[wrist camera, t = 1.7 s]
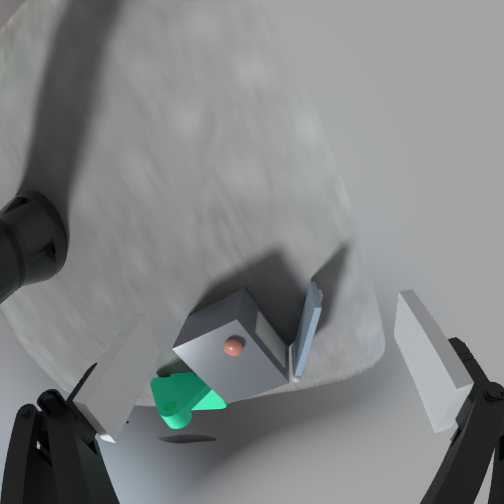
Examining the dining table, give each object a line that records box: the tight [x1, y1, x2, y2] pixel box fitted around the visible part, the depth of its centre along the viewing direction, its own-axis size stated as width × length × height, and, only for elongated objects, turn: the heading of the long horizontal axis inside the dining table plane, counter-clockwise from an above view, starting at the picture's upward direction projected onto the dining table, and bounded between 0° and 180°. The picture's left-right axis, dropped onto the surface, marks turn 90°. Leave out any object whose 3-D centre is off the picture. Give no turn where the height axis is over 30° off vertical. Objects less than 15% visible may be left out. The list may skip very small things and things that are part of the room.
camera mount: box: [150, 372, 227, 429], centre depth 43 cm, size 12×8×10 cm, turn 106°
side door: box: [291, 281, 323, 383], centre depth 37 cm, size 1×12×7 cm, turn 173°
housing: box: [172, 287, 289, 404], centre depth 38 cm, size 10×13×8 cm
